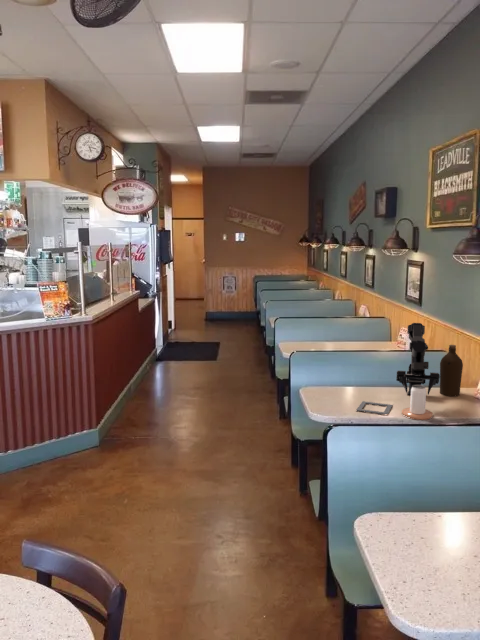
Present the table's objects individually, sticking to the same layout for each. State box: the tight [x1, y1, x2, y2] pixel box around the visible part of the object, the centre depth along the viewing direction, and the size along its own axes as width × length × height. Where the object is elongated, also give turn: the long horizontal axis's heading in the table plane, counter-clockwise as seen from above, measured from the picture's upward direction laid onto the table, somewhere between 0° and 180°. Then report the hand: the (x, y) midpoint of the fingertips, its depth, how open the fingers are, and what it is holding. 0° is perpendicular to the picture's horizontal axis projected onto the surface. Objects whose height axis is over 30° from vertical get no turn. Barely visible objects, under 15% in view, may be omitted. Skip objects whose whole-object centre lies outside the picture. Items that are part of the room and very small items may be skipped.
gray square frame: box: [355, 400, 393, 415], centre depth 250 cm, size 14×14×1 cm
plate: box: [401, 407, 434, 421], centre depth 242 cm, size 13×13×1 cm
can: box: [409, 384, 427, 415], centre depth 240 cm, size 6×6×12 cm
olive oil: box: [439, 344, 464, 397], centre depth 270 cm, size 11×11×25 cm
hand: (417, 393), depth 245 cm, fingers open, 9 cm apart
